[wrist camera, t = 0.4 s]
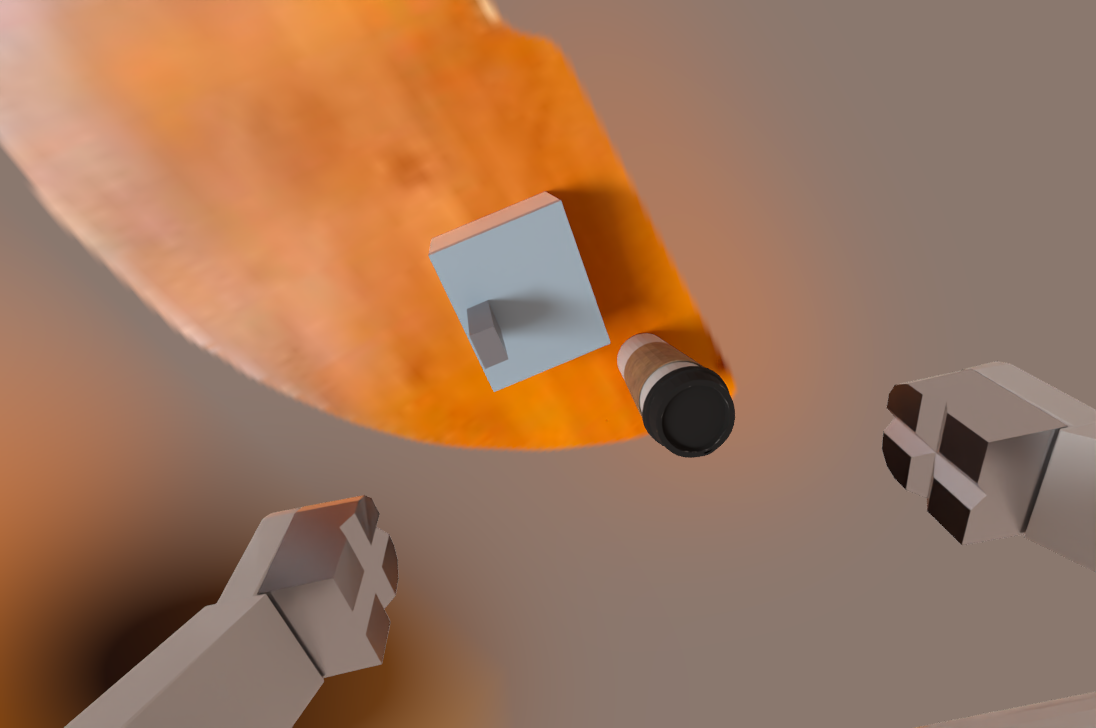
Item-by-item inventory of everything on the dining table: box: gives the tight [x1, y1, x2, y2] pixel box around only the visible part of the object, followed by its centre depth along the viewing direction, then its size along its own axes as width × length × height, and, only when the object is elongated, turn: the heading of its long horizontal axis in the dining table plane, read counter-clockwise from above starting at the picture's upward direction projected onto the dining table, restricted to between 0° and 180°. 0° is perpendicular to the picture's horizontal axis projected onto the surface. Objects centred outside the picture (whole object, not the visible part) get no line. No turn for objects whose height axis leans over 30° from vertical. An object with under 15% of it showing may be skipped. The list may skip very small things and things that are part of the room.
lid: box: [429, 199, 610, 392], centre depth 45 cm, size 14×12×9 cm
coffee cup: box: [617, 333, 735, 457], centre depth 54 cm, size 8×8×15 cm
